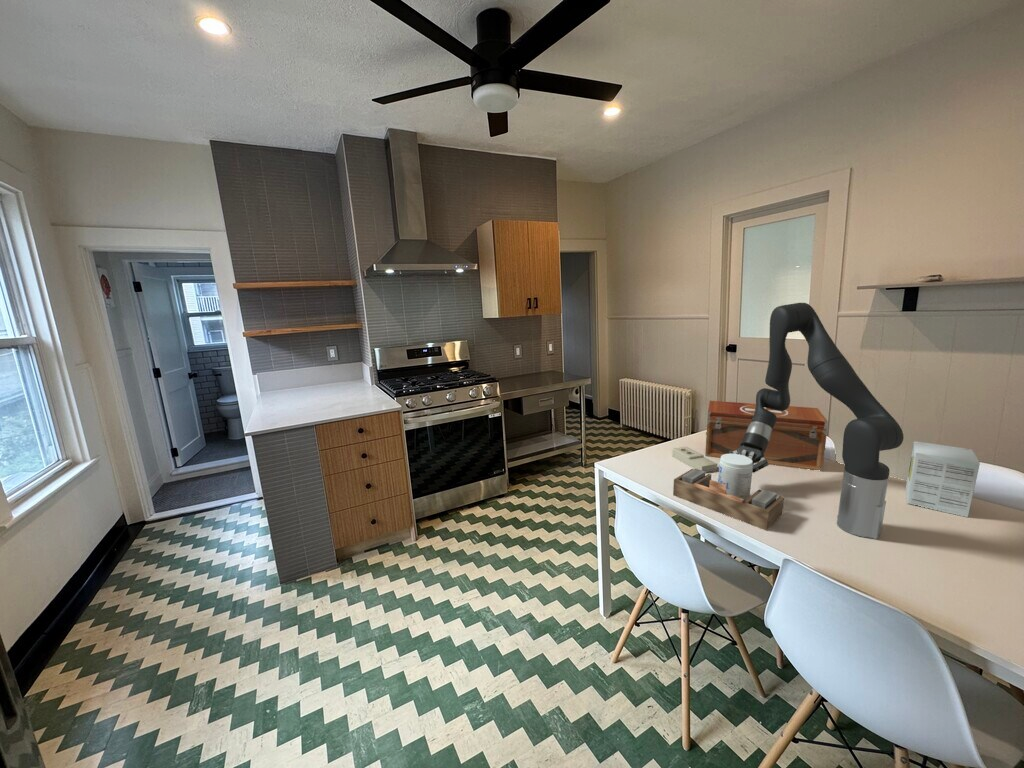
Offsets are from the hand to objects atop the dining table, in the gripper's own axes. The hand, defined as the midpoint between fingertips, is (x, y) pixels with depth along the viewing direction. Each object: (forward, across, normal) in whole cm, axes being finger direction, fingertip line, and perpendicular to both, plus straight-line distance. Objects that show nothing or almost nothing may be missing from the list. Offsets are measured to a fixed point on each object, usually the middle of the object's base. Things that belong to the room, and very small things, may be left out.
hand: (739, 479), depth 133 cm
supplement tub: (+8, +1, 0) cm, 8 cm away
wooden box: (-25, -9, +33) cm, 43 cm away
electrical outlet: (-6, -23, +14) cm, 28 cm away
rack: (+11, 0, -4) cm, 12 cm away
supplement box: (-23, +43, +31) cm, 58 cm away
